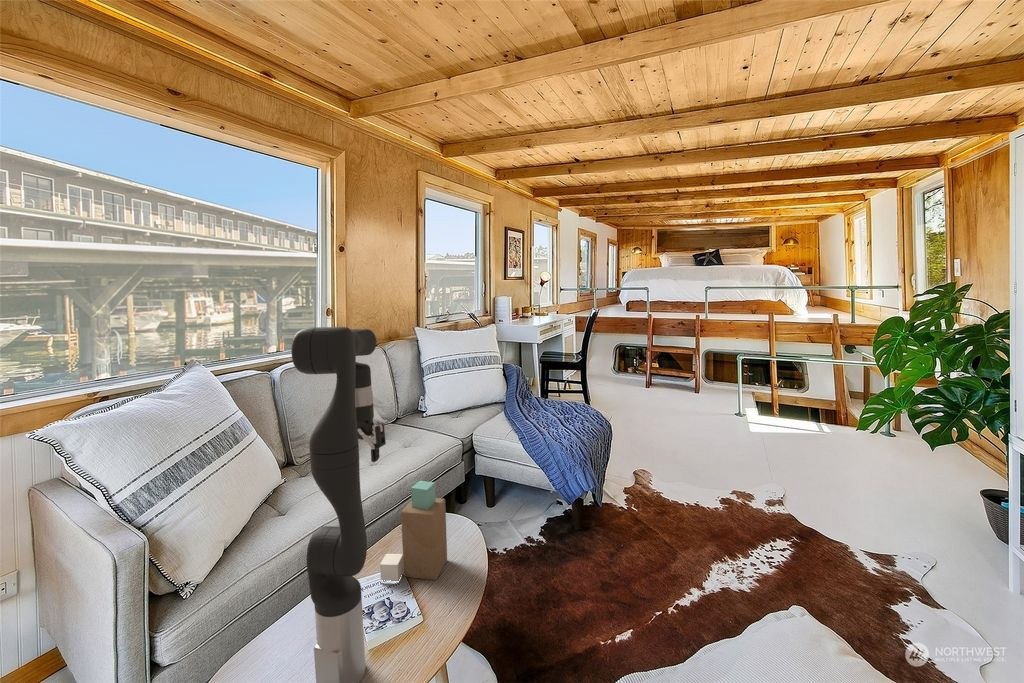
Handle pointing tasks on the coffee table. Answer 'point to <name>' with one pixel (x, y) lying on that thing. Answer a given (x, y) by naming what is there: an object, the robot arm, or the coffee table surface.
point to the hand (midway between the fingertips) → (361, 459)
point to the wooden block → (424, 540)
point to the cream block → (392, 567)
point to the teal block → (423, 495)
